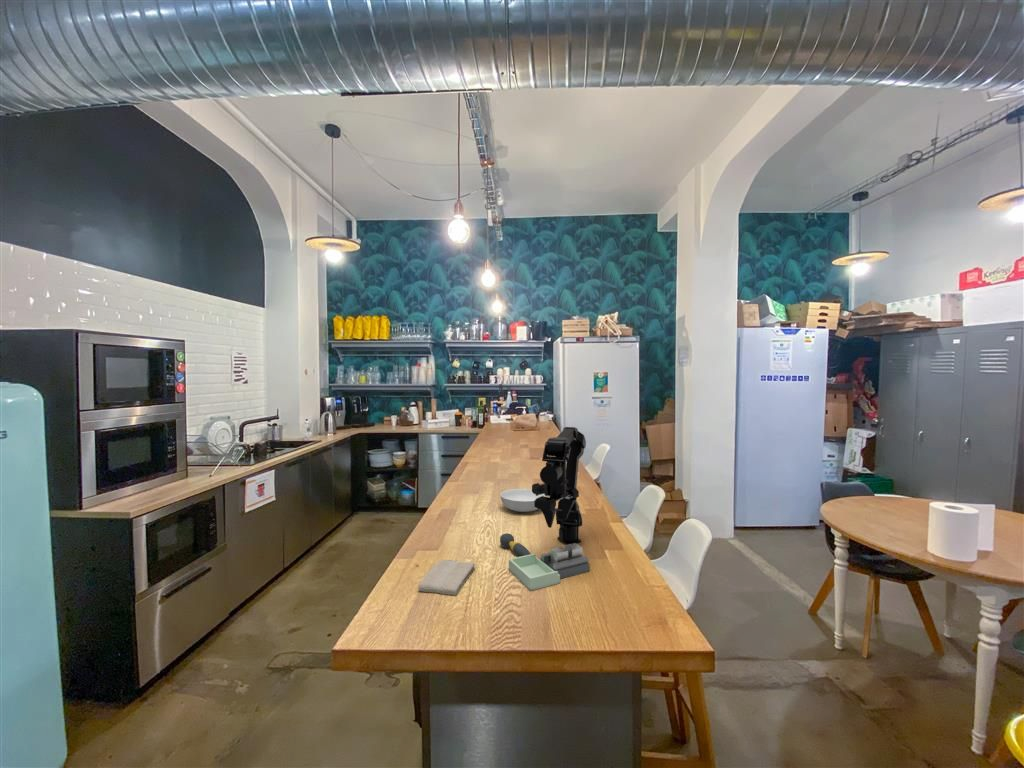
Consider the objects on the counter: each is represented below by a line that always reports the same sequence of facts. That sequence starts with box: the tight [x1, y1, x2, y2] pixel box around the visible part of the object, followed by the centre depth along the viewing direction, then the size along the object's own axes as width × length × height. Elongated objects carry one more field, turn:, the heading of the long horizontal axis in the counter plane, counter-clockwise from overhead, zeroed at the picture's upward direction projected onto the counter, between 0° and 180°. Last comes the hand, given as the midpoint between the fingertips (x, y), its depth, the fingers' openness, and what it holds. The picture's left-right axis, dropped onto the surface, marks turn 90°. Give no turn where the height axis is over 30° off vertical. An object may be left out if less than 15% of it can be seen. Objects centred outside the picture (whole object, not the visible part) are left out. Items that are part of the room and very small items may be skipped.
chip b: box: [550, 545, 568, 563], centre depth 132 cm, size 4×4×4 cm
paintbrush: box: [499, 533, 532, 557], centre depth 145 cm, size 20×5×5 cm, turn 39°
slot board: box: [539, 552, 591, 580], centre depth 133 cm, size 12×10×4 cm
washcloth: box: [418, 559, 476, 596], centre depth 126 cm, size 12×18×3 cm, turn 168°
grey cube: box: [564, 543, 584, 560], centre depth 134 cm, size 4×4×4 cm
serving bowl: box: [500, 488, 547, 513], centre depth 191 cm, size 21×21×7 cm
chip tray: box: [508, 553, 561, 592], centre depth 128 cm, size 10×14×4 cm
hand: (557, 523), depth 139 cm, fingers open, 9 cm apart
